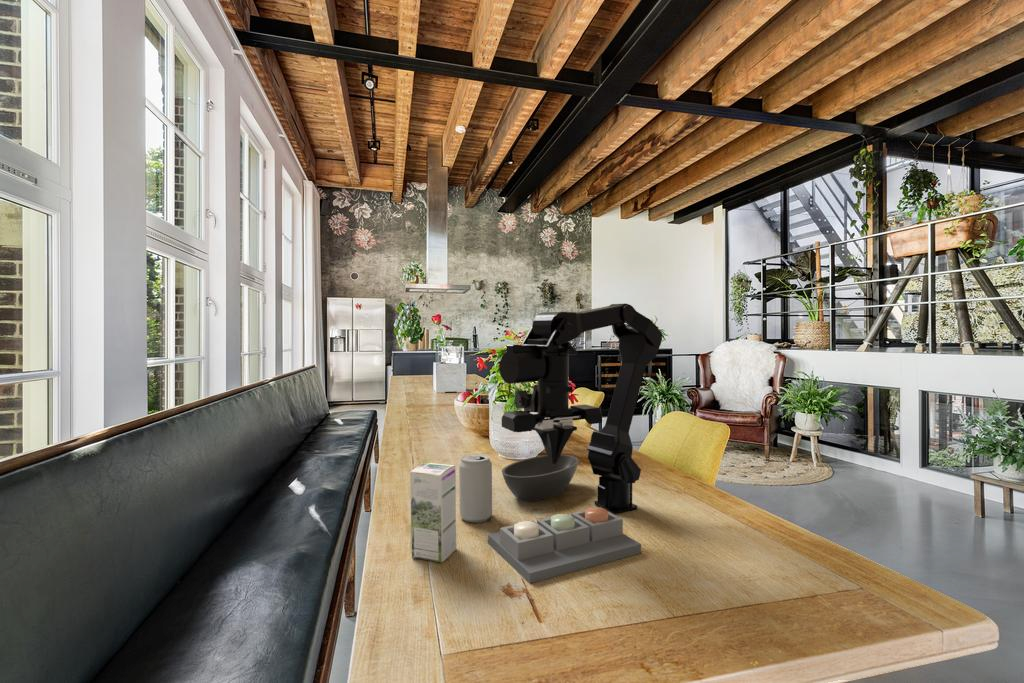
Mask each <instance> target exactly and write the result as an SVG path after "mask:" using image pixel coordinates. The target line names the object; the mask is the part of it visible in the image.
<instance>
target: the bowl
mask: <svg viewBox="0 0 1024 683" xmlns="http://www.w3.org/2000/svg"><path fill="white" fill-rule="evenodd" d="M579 462H580V460H579V458H578V457H577V456H574V455H570V454H561V455H560V457H559V459H558V461H557V463H556V464H550V462H549V459H548V456H547V454H546V455H539V456H534V457H528V458H524V459H522V460H518V461H515V462H512V463H510V464H507V465H506V466H504V467H503V468H502V469H501V475H502V478H503V480H504V482H505V484H506V487H507V488H508V489H509V491H510V492H511V494H512V495H513V496H514V497H515V498H516V499H517V500H519V501H523V502H533V501H534V502H535V501H541V500H546V499H549V498H552V497H555V496H557V495H559V494H561V493H562V492H564V491H565V490H566V488H567V487H568V486H569V484H570V483H571V481H572V479H573V477H574V476H575V473H576V471H577V469H578V465H579Z"/></svg>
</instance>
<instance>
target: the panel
mask: <svg viewBox="0 0 1024 683" xmlns="http://www.w3.org/2000/svg"><path fill="white" fill-rule="evenodd" d="M598 507H599V506H598ZM599 508H601V507H599ZM585 510H586V509H585ZM585 510H580V511H575V512H570V514H569V513H566V514H567V515H571V516H573V517H574V518H575V528H572V529H567V530H563V531H557V530H555V529H554V528H553V527H551V517H552V516H551V517H546V518H541V519H537V520H536V521H534V520H532V521H530V522H534V523H536V524H538V526H539V536H536V537H532V538H527V539H523V540H519V539H518V538H517V537H516V536H515V535H514V525H515V524H513V525H508V526H503V527H500V528H499V531H498V532H494V533H489V534H487V543H488V545H489V546H490V547H491V548H493V550H495V551H496V553H497V554H499V555H500V556H501V557H502V558H503V559H504V560H505V561H506V562H507V563H508V564H509V565H511V567H512V568H513V569H514V570H515V571H516V572H517V573H519V575H521V576H522V577H523V578H524V579H525V580H526V581H527V582H528V583H529V584H533V583H535V582H536V583H537V582H539V581H544V580H547V579H551V578H555V577H559V576H561V575H565V574H569V573H573V572H576V571H580V570H584V569H588V568H591V567H595V566H599V565H602V564H606V563H609V562H613V561H616V560H617V561H618V560H622V559H625V558H627V557H631V556H635V555H639V554H641V553H642V544H641V543H640V542H639V541H637V540H635V539H633V538H632V537H629V536H628V535H626V534H624V533H623V532H624V531H623V529H624V528H623V527H624V526H623V525H624V523H623V522H624V519H623V518H621V517H619V516H618V515H616V514H615V513H611V512H609V511H608V520H607V521H603V522H598V523H594V524H593V523H592V522H590V521H588V520H587V519H585Z"/></svg>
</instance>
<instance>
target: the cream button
mask: <svg viewBox="0 0 1024 683" xmlns="http://www.w3.org/2000/svg"><path fill="white" fill-rule="evenodd" d="M536 523H537V522H536ZM536 523H534V522H531V521H528V520H527V521H525V520H524V521H523V520H522V521H519V522H516V523H515V524H513V525H514V535H515V536H516V537H517V538H518V539H519V540H523V539H527V538H532V537H536V536H539V526H538V524H536Z"/></svg>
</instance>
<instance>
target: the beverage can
mask: <svg viewBox="0 0 1024 683" xmlns="http://www.w3.org/2000/svg"><path fill="white" fill-rule="evenodd" d="M460 460H461V461H460V462H459V464H458V473H459V474H458V476H459V478H458V479H459V483H458V484H459V486H458V488H459V492H458V493H459V494H458V495H459V516H460V518H462V519H463V520H464V521H465V522H469V523H482V522H485V521H487V519H488V520H489V519H490V518H491V516H492V515H493V466H492V465H493V463H492V461H491V457H490V456H489V455H488V454H484V453H471V454H466V455H465V454H464V455H462V456H461V457H460Z"/></svg>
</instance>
